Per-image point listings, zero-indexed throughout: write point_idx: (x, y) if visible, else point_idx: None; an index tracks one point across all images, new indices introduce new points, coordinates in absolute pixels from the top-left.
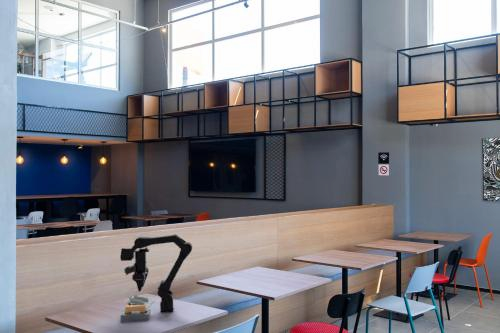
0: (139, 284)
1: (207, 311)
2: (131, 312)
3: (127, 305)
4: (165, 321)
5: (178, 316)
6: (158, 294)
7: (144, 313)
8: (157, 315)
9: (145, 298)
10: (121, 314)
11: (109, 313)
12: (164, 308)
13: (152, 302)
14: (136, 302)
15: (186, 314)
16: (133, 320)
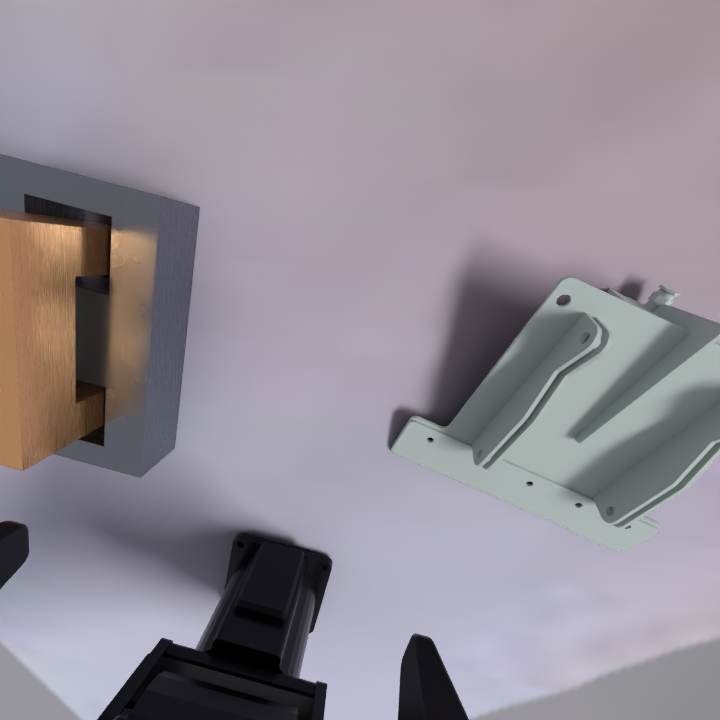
0: None
1: None
2: (75, 287)
3: (5, 238)
4: (9, 512)
5: (110, 604)
6: (141, 699)
7: None
8: (165, 493)
9: (631, 506)
10: (10, 161)
11: (379, 33)
12: (232, 579)
13: (579, 531)
14: (524, 390)
15: (145, 651)
16: None
